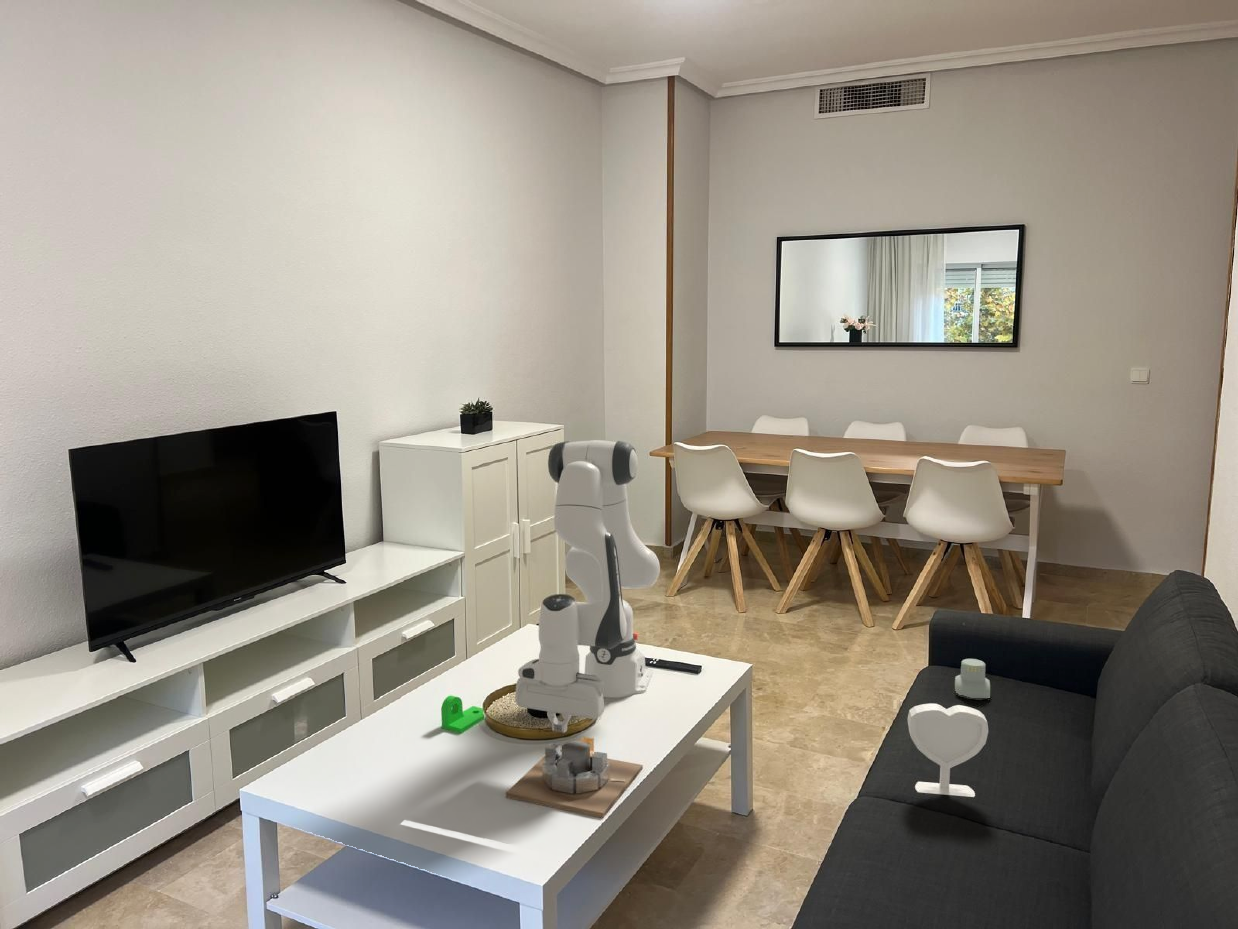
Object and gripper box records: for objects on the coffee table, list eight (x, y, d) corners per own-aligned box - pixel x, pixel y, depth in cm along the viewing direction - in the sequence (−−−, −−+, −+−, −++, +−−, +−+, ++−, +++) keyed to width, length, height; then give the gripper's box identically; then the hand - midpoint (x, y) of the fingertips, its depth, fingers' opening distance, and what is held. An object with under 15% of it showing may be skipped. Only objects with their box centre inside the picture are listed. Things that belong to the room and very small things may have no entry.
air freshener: (954, 689, 247) (955, 653, 246) (987, 693, 245) (989, 657, 243) (955, 705, 237) (957, 668, 236) (989, 709, 235) (992, 671, 233)
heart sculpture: (907, 792, 193) (910, 710, 190) (904, 780, 198) (907, 700, 195) (985, 798, 190) (990, 715, 187) (980, 786, 195) (985, 705, 192)
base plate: (552, 752, 212) (552, 719, 210) (642, 769, 203) (642, 734, 202) (505, 797, 191) (504, 761, 190) (603, 818, 183) (603, 780, 182)
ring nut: (561, 758, 206) (561, 732, 205) (617, 768, 201) (617, 742, 200) (533, 785, 194) (532, 758, 193) (592, 797, 188) (592, 770, 188)
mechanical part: (461, 736, 221) (460, 705, 220) (442, 731, 224) (440, 700, 222) (492, 718, 231) (491, 687, 230) (473, 713, 234) (472, 683, 233)
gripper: (608, 671, 200) (608, 732, 202) (525, 659, 208) (525, 718, 210) (597, 681, 194) (597, 744, 196) (511, 668, 202) (512, 729, 204)
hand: (559, 730), depth 203 cm, fingers closed
